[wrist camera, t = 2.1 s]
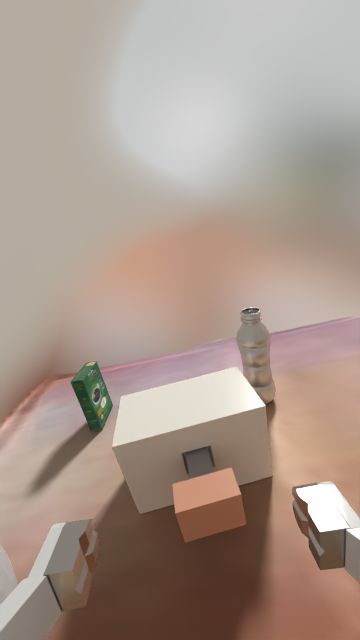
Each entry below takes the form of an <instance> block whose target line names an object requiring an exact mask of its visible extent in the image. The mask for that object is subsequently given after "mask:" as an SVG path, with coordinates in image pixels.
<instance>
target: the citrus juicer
mask: <svg viewBox="0 0 360 640" xmlns="http://www.w3.org/2000/svg"><path fill="white" fill-rule="evenodd" d="M17 586H18V583H17V580H16V577H15V574H14V571H13V568H12V565H11V562H10V559H9V557H8V556H7V554H6V552H5V551H4V549H3V547H2V546H1V545H0V605H1V603H2V602H3V601H4V600H5V599H6V598H7V597H8V596H9V595H10V593H11V592H12V591H13V590H14V589H15V588H16V587H17Z"/></svg>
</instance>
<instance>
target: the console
mask: <svg viewBox="0 0 360 640" xmlns="http://www.w3.org/2000/svg"><path fill="white" fill-rule="evenodd" d="M206 446H207V449H208V452H209V456H210V459H211V463H212V466H213V469H214V472H217V471H220V470H224V469H227V468H232V471H233V473H234V476H235V479H236V481H237V484H238V486H240V485H243V484H246V483H250V482H253V481H257V480H260V479H264V478H267V477H271V476H273V475H272V465H271V455H270V445H269V435H268V425H267V415H266V406H265V404H264V403H263V401H262V400H261V399H260V397H259V396H258V395H257V393H256V392H255V390H254V389H253V388H252V386H251V385H250V384H249V382H248V381H247V379H246V378H245V377H244V375H243V374H242V373H241V371H240V370H239V369H238V367H234V368H230V369H226V370H222V371H218V372H214V373H210V374H207V375H203V376H199V377H195V378H191V379H187V380H183V381H179V382H175V383H172V384H168V385H164V386H160V387H156V388H152V389H148V390H144V391H141V392H137V393H133V394H129V395H125V396H121V401H120V406H119V412H118V417H117V423H116V428H115V433H114V439H113V444H112V448H113V451H114V453H115V456H116V458H117V461H118V463H119V465H120V468H121V470H122V473H123V475H124V478H125V480H126V482H127V485H128V487H129V490H130V492H131V495H132V497H133V499H134V502H135V504H136V507H137V509H138V512H139V514H143V513H146V512H149V511H153V510H156V509H160V508H163V507H167V506H170V505H174V495H173V485H172V484H174V483H178V482H181V481H185V480H189V479H190V476H189V471H188V465H187V459H186V454H185V452H188V451H192V450H195V449H199V448H203V447H206Z"/></svg>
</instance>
